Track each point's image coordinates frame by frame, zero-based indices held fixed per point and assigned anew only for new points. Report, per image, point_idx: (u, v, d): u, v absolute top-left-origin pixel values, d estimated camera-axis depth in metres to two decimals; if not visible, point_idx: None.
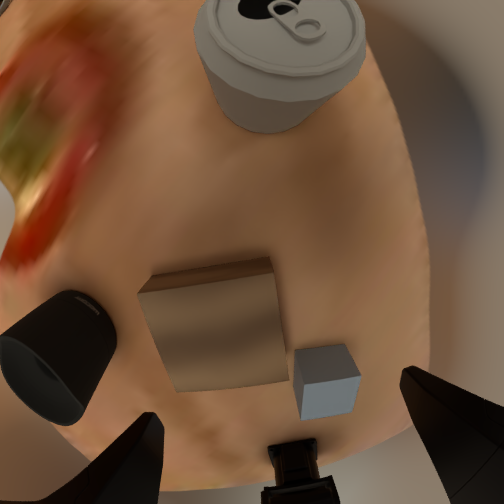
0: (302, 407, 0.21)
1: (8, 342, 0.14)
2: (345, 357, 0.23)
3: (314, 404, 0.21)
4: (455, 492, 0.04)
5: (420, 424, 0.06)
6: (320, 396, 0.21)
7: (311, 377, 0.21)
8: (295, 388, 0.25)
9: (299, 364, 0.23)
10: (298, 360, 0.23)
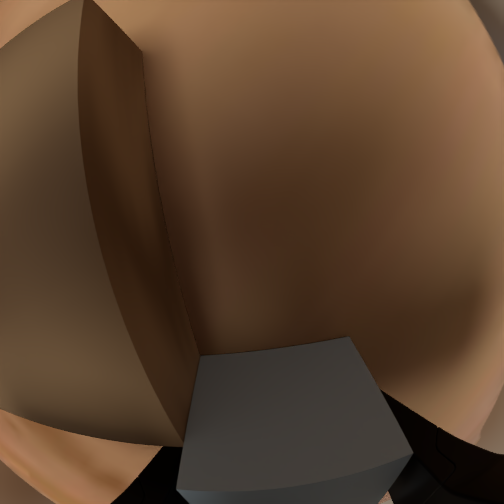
0: None
1: None
2: (352, 383, 0.06)
3: None
4: None
5: None
6: None
7: (213, 463, 0.05)
8: None
9: (193, 405, 0.06)
10: (196, 390, 0.07)
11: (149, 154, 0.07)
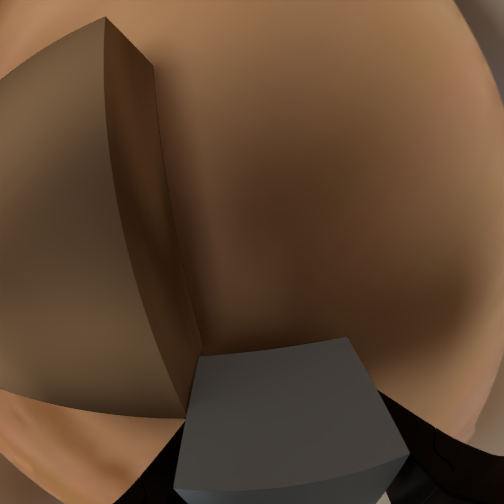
0: None
1: None
2: (350, 383, 0.06)
3: None
4: None
5: None
6: None
7: (210, 462, 0.05)
8: None
9: (191, 405, 0.06)
10: (194, 391, 0.07)
11: (160, 159, 0.08)
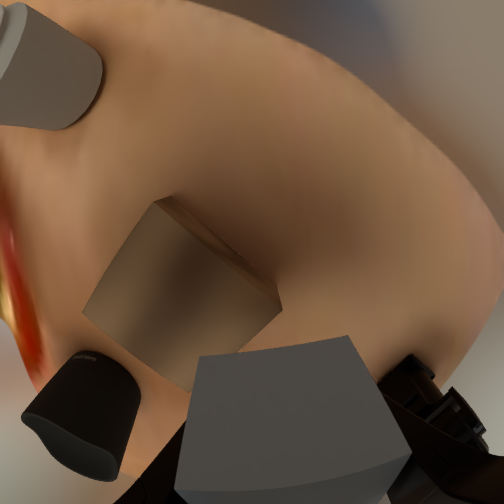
0: None
1: (37, 425, 0.14)
2: (351, 382, 0.06)
3: None
4: None
5: None
6: None
7: (211, 463, 0.05)
8: None
9: (192, 405, 0.06)
10: (194, 391, 0.07)
11: (205, 228, 0.19)
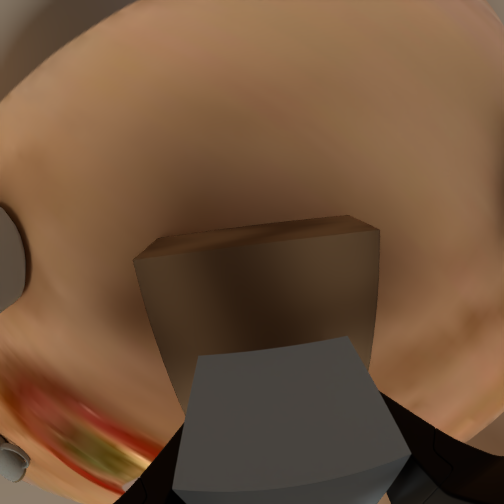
0: None
1: None
2: (350, 382, 0.06)
3: None
4: None
5: None
6: None
7: (209, 463, 0.05)
8: None
9: (190, 405, 0.06)
10: (193, 390, 0.07)
11: (220, 230, 0.13)
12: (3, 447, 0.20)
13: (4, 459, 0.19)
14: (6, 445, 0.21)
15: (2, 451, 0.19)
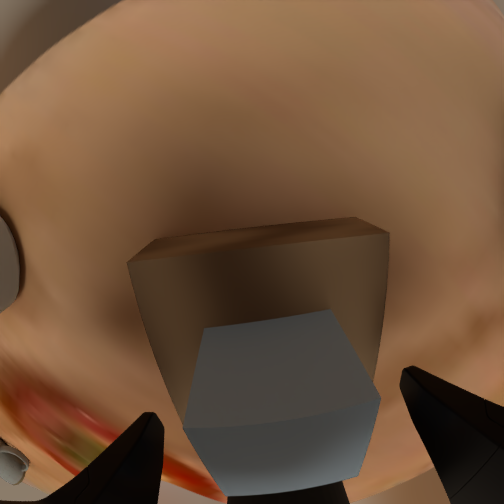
0: (214, 475, 0.07)
1: None
2: (330, 344, 0.08)
3: (244, 473, 0.06)
4: (455, 493, 0.04)
5: (420, 424, 0.06)
6: (253, 458, 0.06)
7: (213, 406, 0.06)
8: None
9: (198, 364, 0.08)
10: (200, 354, 0.09)
11: (220, 232, 0.13)
12: (2, 450, 0.19)
13: (3, 462, 0.18)
14: (5, 448, 0.20)
15: (1, 454, 0.19)
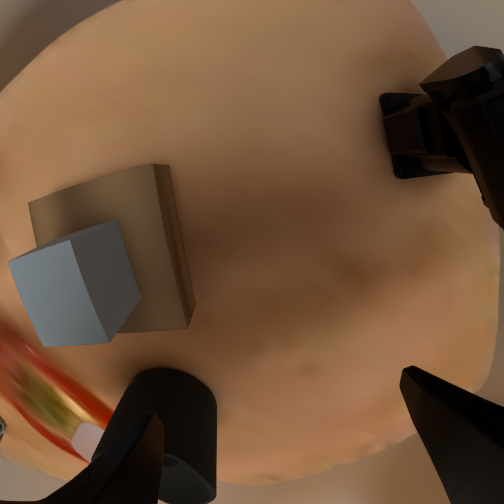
0: (29, 314, 0.11)
1: None
2: (90, 229, 0.12)
3: (38, 310, 0.10)
4: (455, 492, 0.04)
5: (420, 424, 0.06)
6: (34, 290, 0.10)
7: (24, 254, 0.10)
8: None
9: (37, 247, 0.12)
10: (43, 245, 0.13)
11: None
12: None
13: None
14: None
15: None
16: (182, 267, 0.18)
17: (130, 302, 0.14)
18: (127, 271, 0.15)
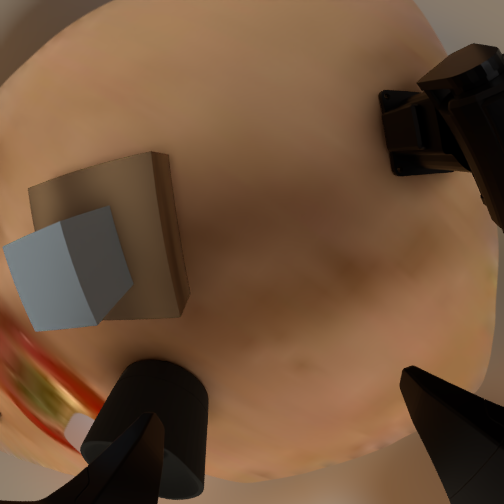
0: (22, 299, 0.11)
1: None
2: None
3: (30, 294, 0.10)
4: (455, 492, 0.04)
5: (420, 424, 0.06)
6: (27, 274, 0.10)
7: None
8: None
9: None
10: None
11: None
12: None
13: None
14: None
15: None
16: (177, 256, 0.18)
17: (121, 287, 0.14)
18: (119, 257, 0.15)
